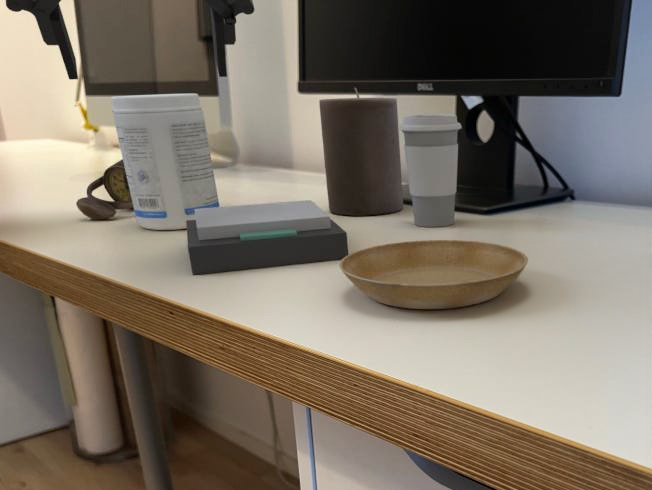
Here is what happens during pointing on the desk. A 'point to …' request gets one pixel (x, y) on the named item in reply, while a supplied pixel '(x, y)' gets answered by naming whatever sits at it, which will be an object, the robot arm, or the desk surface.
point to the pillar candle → (362, 155)
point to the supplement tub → (165, 158)
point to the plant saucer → (433, 272)
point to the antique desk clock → (116, 189)
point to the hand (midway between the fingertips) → (149, 68)
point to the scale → (262, 236)
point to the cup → (432, 166)
